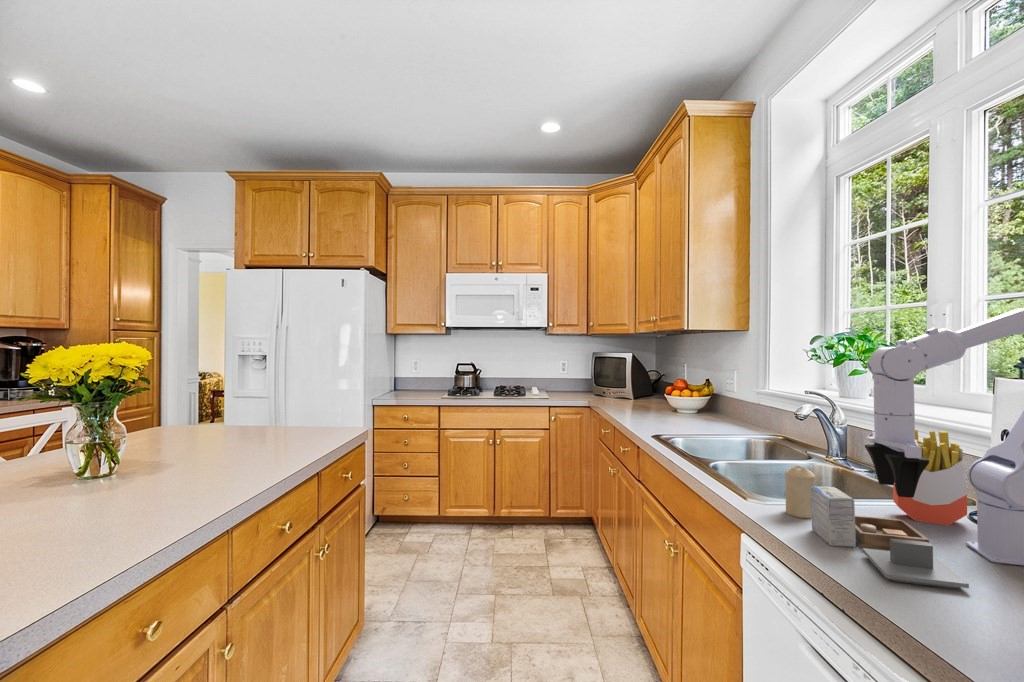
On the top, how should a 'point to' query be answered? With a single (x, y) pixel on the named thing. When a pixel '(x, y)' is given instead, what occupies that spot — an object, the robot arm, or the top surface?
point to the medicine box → (833, 516)
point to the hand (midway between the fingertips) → (895, 490)
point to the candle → (799, 491)
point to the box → (883, 532)
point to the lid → (914, 564)
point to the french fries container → (938, 484)
